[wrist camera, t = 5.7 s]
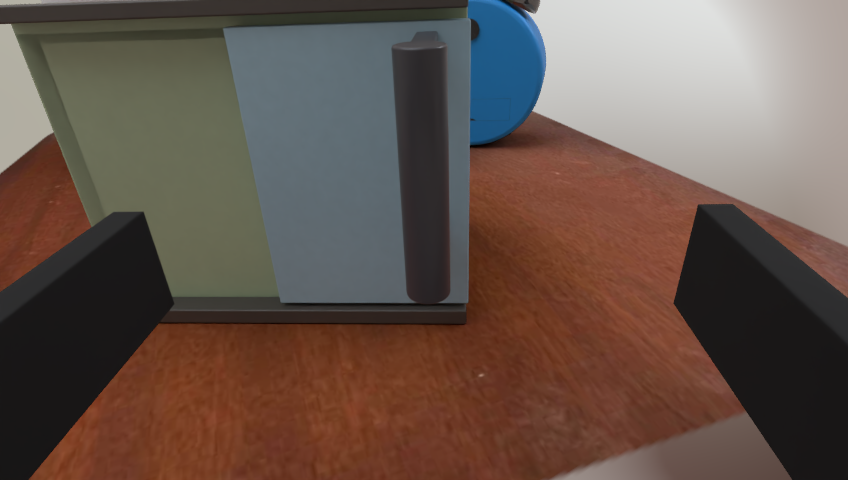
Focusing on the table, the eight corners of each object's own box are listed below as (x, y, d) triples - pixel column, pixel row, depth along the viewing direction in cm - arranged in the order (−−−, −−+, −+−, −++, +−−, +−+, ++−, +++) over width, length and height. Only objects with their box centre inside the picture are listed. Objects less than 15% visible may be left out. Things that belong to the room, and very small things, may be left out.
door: (472, 384, 19) (477, 35, 13) (239, 382, 20) (143, 46, 14) (468, 296, 24) (470, 17, 18) (284, 296, 25) (228, 26, 19)
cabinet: (466, 324, 24) (468, -12, 17) (109, 322, 25) (-24, 6, 18) (462, 221, 34) (463, -18, 27) (206, 223, 35) (144, -6, 28)
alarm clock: (540, 133, 51) (553, -32, 44) (537, 151, 46) (551, -32, 39) (419, 128, 54) (412, -27, 47) (402, 145, 49) (393, -26, 42)
